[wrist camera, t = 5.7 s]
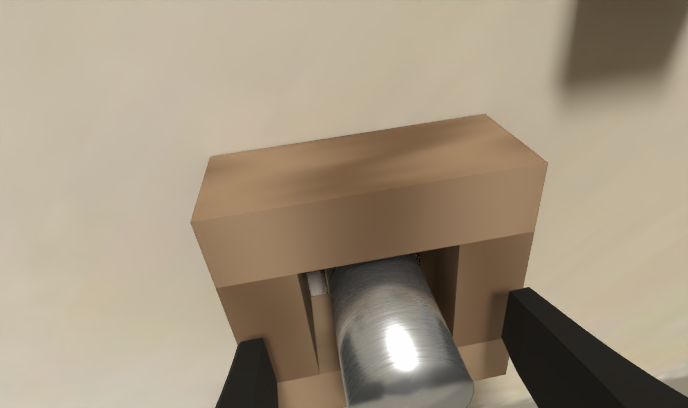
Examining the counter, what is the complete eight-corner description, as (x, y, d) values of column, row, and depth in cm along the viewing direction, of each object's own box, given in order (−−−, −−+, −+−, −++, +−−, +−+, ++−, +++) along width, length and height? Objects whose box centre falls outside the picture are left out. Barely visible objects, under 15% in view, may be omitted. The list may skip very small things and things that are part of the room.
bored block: (485, 114, 13) (548, 162, 10) (466, 303, 18) (505, 374, 15) (210, 157, 13) (190, 222, 10) (268, 341, 17) (267, 422, 14)
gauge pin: (405, 204, 15) (483, 353, 9) (401, 270, 16) (465, 428, 11) (318, 213, 14) (346, 374, 9) (323, 279, 16) (350, 448, 11)
